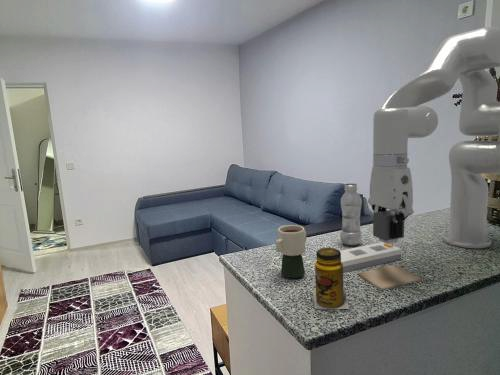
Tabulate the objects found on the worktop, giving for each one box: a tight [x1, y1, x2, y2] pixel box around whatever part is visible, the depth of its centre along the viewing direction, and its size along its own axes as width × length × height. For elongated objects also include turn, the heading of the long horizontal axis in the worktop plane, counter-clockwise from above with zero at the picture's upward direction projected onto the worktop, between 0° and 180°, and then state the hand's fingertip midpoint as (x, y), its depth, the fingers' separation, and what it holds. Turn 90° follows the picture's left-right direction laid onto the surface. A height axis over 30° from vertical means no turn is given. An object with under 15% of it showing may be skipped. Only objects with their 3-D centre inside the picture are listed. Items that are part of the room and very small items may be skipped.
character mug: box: [275, 224, 307, 279], centre depth 87 cm, size 11×7×13 cm, turn 128°
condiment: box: [312, 247, 350, 310], centre depth 74 cm, size 7×8×12 cm
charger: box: [372, 209, 405, 244], centre depth 81 cm, size 6×4×7 cm
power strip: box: [339, 241, 402, 273], centre depth 94 cm, size 20×7×4 cm, turn 109°
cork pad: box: [357, 264, 422, 291], centre depth 83 cm, size 12×9×1 cm
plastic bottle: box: [340, 183, 363, 246], centre depth 106 cm, size 6×7×20 cm
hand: (388, 233), depth 81 cm, fingers closed on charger, 4 cm apart
